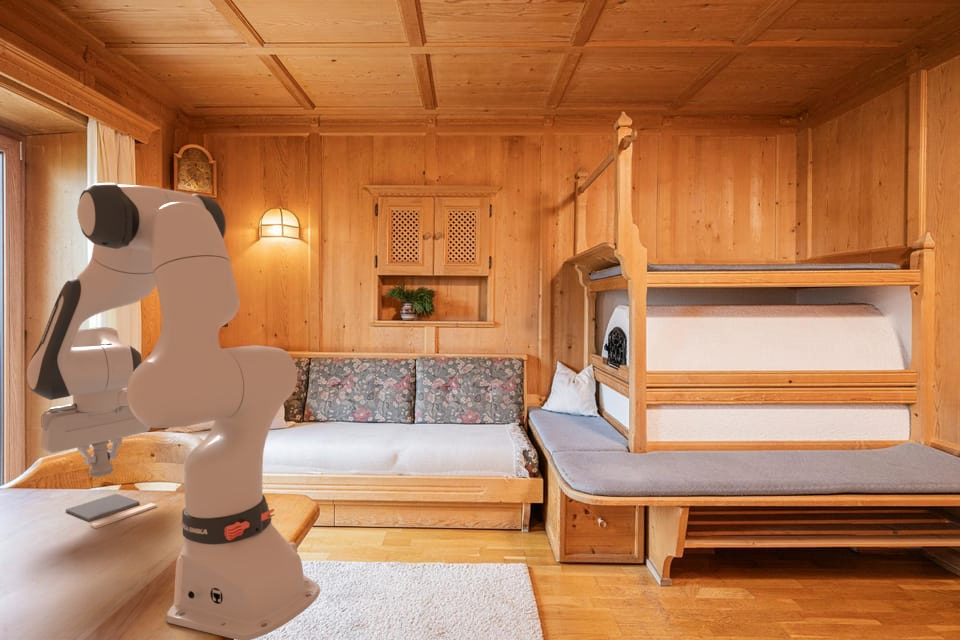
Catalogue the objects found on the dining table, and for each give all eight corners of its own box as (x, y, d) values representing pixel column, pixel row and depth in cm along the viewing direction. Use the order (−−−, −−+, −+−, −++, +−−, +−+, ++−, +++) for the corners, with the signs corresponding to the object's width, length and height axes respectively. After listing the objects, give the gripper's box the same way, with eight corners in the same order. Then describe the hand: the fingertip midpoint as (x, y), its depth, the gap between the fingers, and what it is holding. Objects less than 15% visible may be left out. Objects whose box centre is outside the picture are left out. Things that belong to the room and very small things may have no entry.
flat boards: (156, 506, 114) (156, 504, 114) (95, 528, 103) (95, 525, 103) (120, 494, 121) (120, 492, 121) (60, 513, 110) (60, 511, 110)
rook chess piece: (100, 478, 110) (98, 442, 110) (83, 476, 111) (82, 441, 111) (118, 471, 115) (117, 436, 114) (102, 470, 115) (101, 435, 115)
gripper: (47, 411, 101) (50, 478, 102) (153, 393, 119) (156, 451, 120) (33, 407, 104) (36, 473, 105) (139, 391, 122) (141, 447, 123)
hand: (101, 461), depth 113 cm, fingers closed on rook chess piece, 3 cm apart
